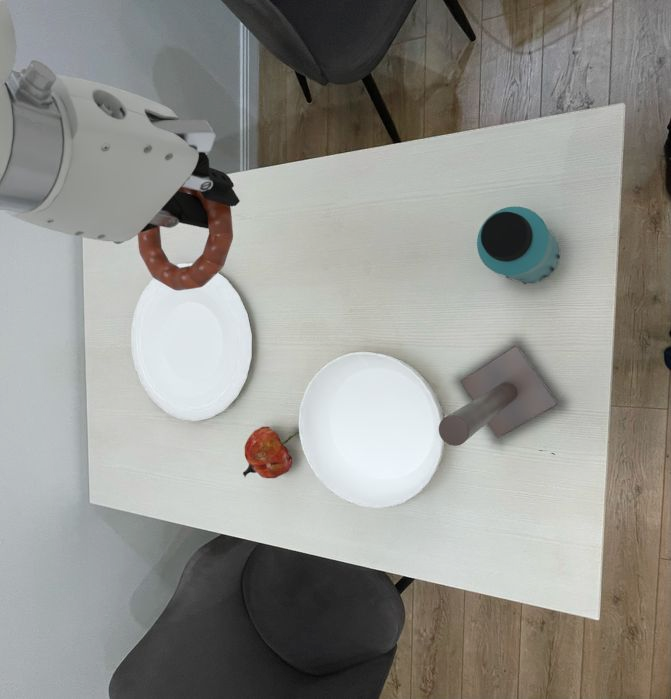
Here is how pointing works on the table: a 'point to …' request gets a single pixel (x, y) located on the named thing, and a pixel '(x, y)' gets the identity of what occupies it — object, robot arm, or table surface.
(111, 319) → the table surface
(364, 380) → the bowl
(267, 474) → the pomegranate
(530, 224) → the beverage bottle
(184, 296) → the plate
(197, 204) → the robot arm
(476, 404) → the peg post
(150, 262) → the ring
